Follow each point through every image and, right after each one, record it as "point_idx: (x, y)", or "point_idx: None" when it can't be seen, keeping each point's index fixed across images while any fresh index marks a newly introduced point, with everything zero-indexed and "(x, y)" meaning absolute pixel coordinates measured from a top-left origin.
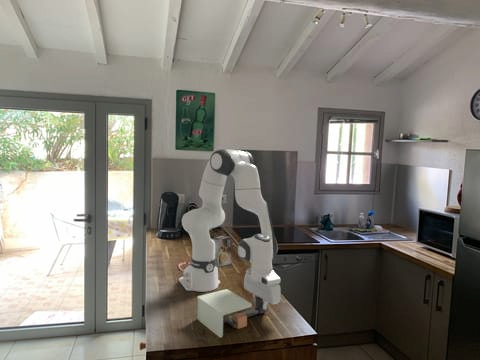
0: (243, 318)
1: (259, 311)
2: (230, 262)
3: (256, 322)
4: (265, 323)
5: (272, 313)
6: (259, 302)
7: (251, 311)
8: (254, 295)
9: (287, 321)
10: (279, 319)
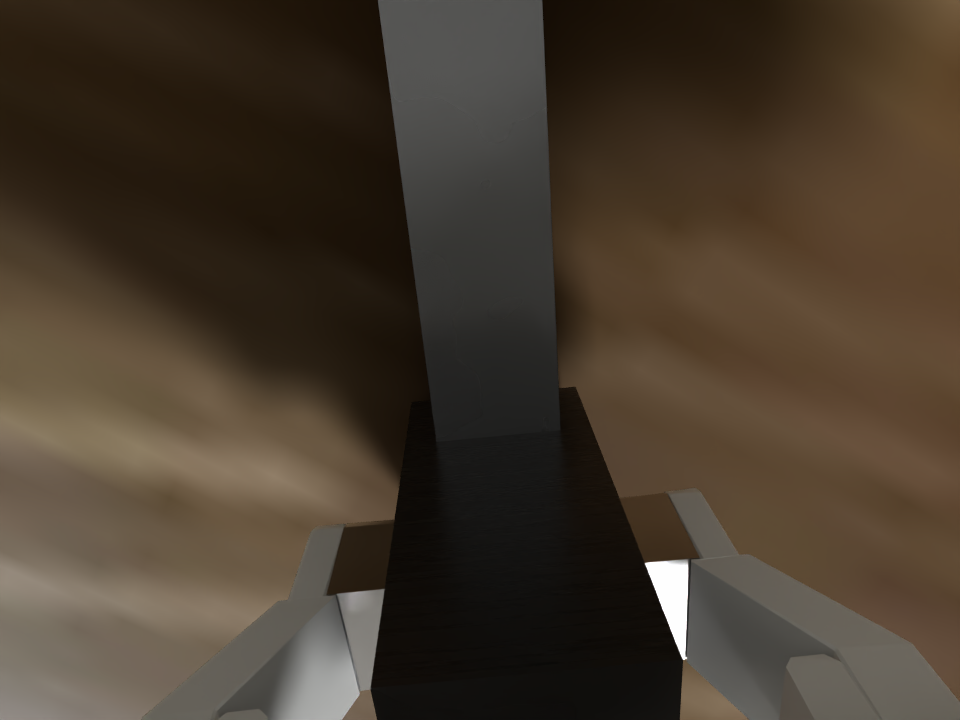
0: None
1: (417, 426)
2: None
3: (107, 141)
4: (11, 304)
5: None
6: (410, 587)
7: (444, 222)
8: (835, 690)
9: (5, 667)
10: (112, 602)
